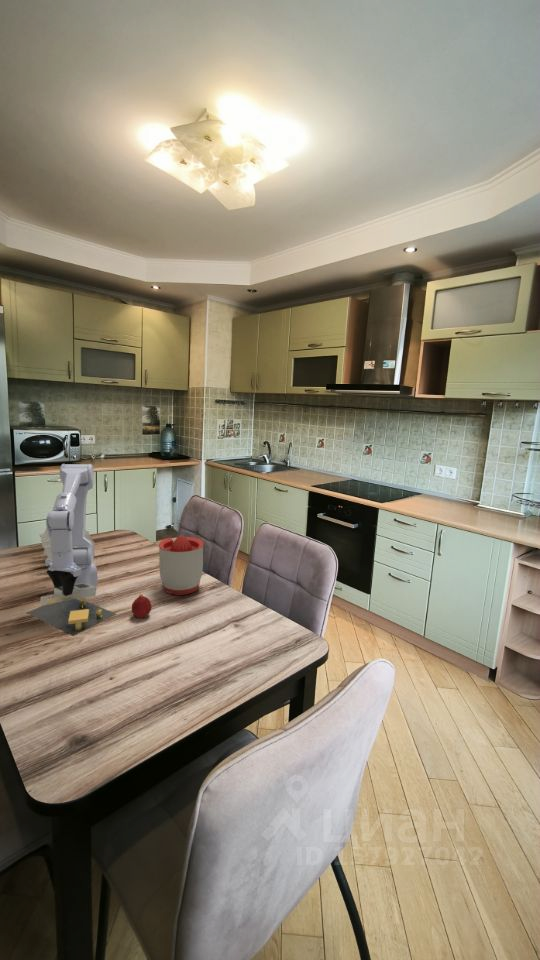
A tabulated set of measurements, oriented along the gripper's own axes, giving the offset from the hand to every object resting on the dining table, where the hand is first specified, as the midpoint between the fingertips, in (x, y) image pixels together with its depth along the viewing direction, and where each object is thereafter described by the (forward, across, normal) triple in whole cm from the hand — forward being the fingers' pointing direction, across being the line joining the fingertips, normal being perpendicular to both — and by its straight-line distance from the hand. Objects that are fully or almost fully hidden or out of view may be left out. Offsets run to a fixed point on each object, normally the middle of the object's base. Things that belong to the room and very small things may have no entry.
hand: (64, 592), depth 125 cm
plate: (+8, +2, +1) cm, 8 cm away
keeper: (+7, +9, -2) cm, 12 cm away
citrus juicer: (+8, +15, +35) cm, 39 cm away
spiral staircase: (+8, -37, +26) cm, 46 cm away
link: (+2, 0, +1) cm, 2 cm away
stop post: (+7, +10, +4) cm, 13 cm away
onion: (+8, +20, +12) cm, 25 cm away
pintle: (+7, 0, +6) cm, 9 cm away
